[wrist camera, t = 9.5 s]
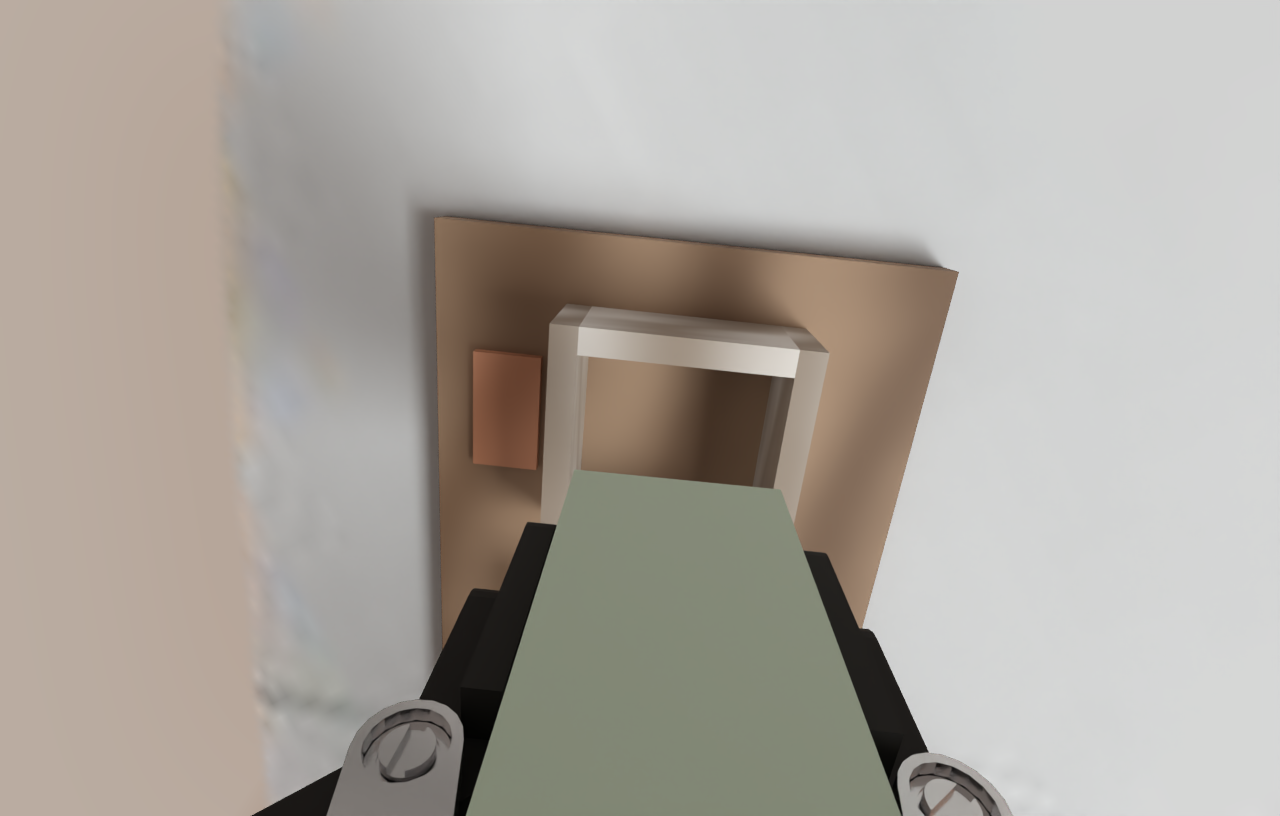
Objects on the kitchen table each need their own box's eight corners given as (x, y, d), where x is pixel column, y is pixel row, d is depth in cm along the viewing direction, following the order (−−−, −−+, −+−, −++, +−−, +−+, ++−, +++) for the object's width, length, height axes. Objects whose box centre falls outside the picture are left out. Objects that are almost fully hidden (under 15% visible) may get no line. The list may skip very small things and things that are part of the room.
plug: (781, 489, 12) (980, 1031, 4) (749, 653, 13) (859, 1275, 6) (574, 469, 12) (415, 973, 4) (565, 634, 13) (433, 1229, 6)
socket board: (944, 267, 19) (1010, 287, 16) (811, 773, 27) (834, 867, 23) (445, 216, 20) (392, 222, 16) (452, 732, 27) (417, 820, 23)
